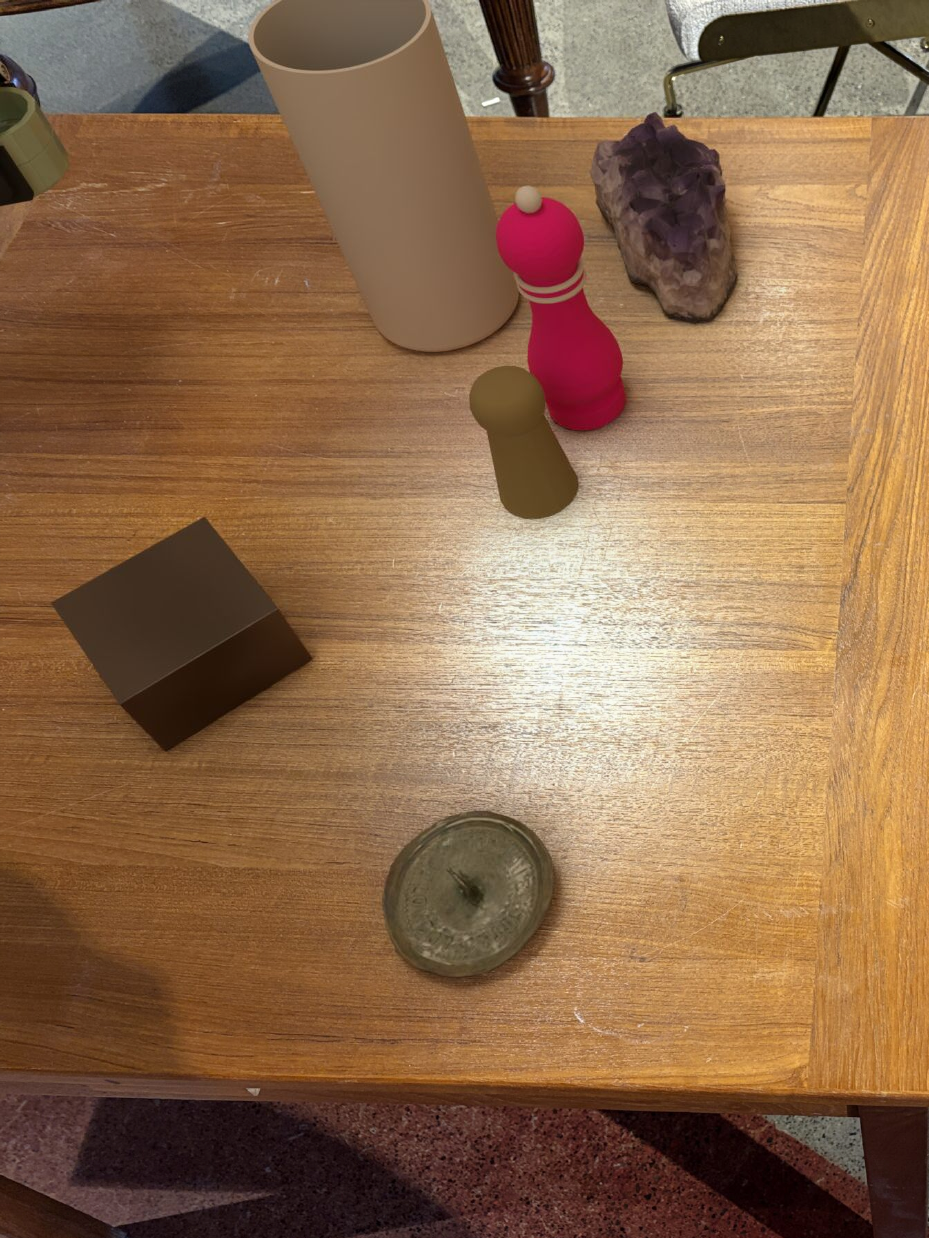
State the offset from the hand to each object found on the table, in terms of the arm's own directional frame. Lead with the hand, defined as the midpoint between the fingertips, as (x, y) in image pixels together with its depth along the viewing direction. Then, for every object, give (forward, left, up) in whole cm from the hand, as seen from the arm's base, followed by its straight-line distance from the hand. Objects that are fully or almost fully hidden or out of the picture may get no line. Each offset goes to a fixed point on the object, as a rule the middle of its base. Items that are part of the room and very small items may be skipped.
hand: (16, 167), depth 93 cm
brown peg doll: (+16, -36, -18) cm, 43 cm away
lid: (-6, -62, -18) cm, 65 cm away
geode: (+41, -21, -18) cm, 50 cm away
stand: (-10, -33, -18) cm, 39 cm away
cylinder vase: (+22, -13, -18) cm, 31 cm away
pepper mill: (+24, -31, -18) cm, 43 cm away
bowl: (0, 0, -1) cm, 1 cm away
